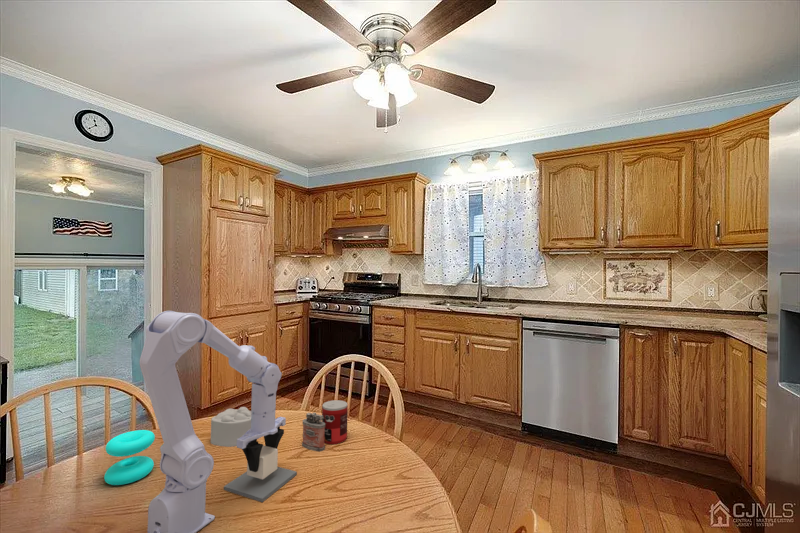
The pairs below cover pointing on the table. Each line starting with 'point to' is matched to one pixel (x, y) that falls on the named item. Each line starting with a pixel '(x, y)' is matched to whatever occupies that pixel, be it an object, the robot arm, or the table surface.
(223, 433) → the lumpy-topped squat cylinder
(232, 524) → the table surface
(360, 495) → the table surface
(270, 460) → the cube
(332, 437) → the canned food
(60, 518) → the table surface
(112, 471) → the donuts
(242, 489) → the grey square plate
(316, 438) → the lighter
